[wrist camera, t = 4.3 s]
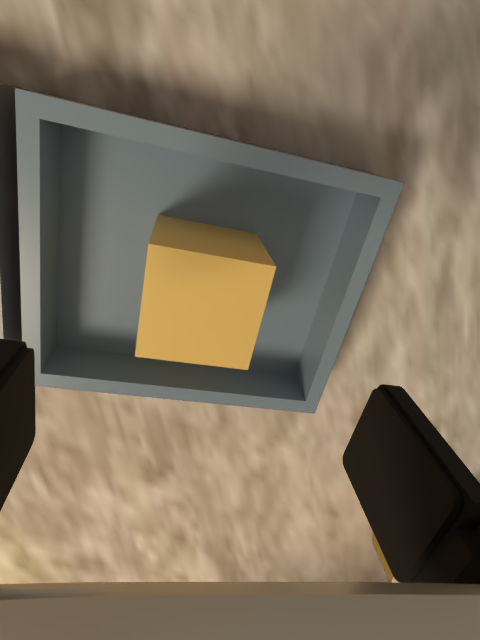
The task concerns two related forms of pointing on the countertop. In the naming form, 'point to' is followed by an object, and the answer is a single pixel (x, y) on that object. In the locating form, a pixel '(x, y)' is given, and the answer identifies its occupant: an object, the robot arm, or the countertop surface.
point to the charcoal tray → (9, 220)
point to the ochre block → (203, 294)
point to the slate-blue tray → (193, 205)
